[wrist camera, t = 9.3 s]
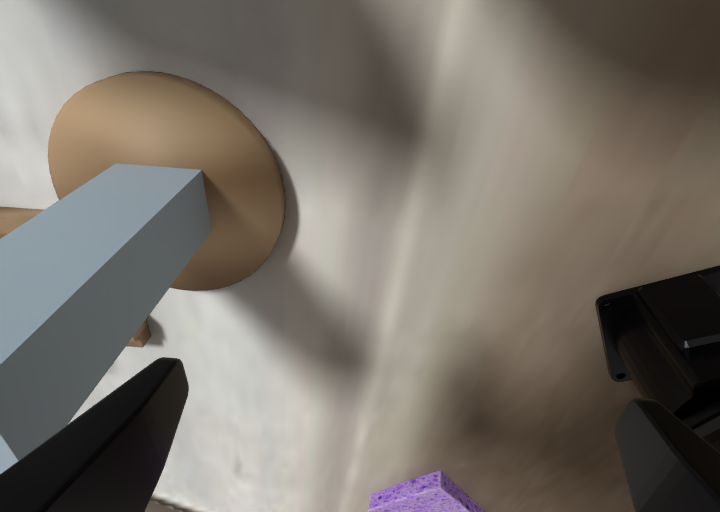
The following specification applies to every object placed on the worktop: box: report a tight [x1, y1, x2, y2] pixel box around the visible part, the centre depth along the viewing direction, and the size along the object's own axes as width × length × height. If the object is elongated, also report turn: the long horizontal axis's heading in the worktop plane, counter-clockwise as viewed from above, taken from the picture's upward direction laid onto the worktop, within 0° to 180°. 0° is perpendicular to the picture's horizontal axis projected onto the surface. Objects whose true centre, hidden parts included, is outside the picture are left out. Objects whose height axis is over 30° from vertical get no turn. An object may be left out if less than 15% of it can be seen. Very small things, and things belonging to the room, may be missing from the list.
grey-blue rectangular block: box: [0, 163, 212, 473], centre depth 15 cm, size 4×3×12 cm
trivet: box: [48, 71, 285, 291], centre depth 21 cm, size 11×11×1 cm
